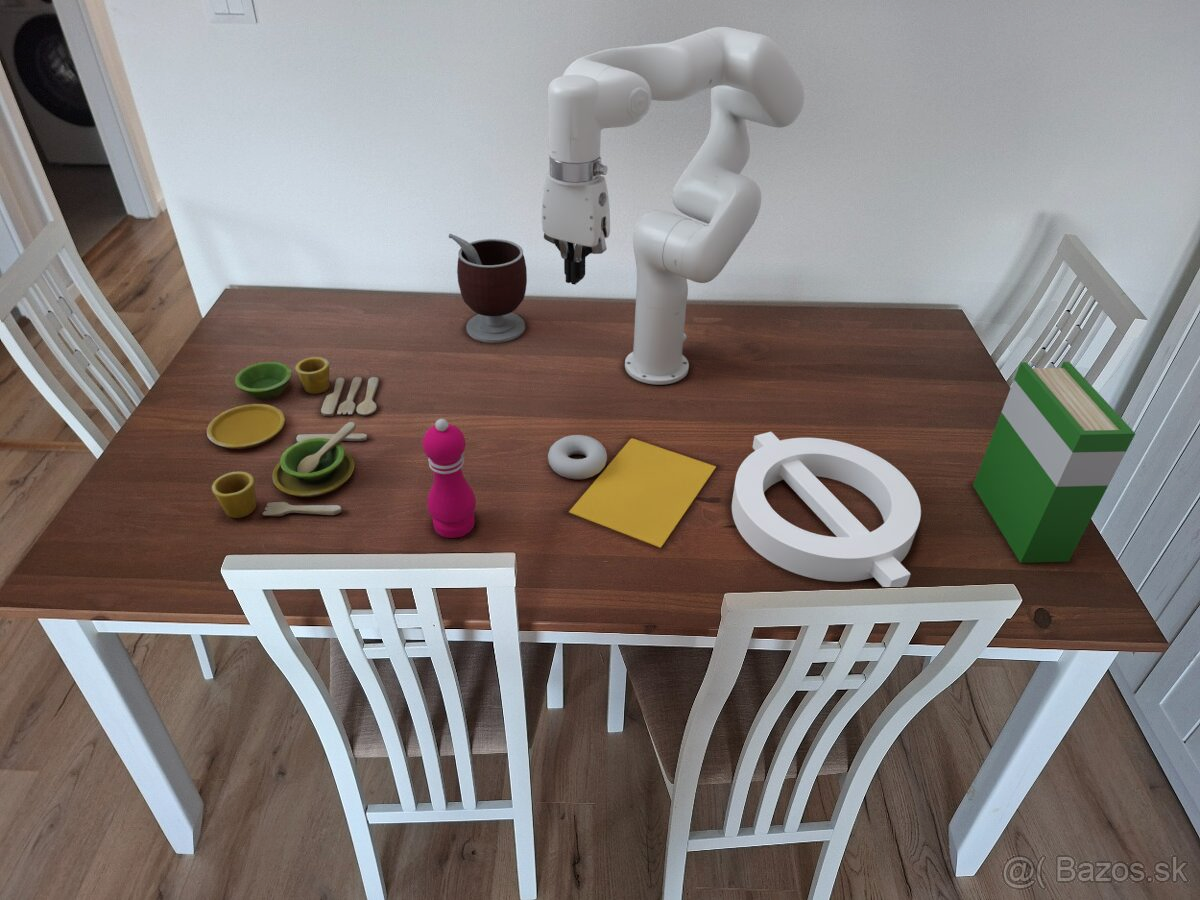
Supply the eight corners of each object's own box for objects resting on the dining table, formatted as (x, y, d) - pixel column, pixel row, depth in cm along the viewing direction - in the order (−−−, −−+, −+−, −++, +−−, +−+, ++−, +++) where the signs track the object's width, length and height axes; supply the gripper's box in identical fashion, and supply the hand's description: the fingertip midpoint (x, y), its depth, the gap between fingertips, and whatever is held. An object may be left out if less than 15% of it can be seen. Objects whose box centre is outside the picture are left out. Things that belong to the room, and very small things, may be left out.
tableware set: (342, 522, 128) (335, 491, 124) (159, 524, 127) (145, 493, 123) (387, 375, 160) (382, 347, 156) (241, 376, 159) (232, 348, 155)
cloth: (631, 438, 146) (631, 437, 146) (716, 467, 140) (716, 466, 140) (568, 512, 130) (568, 511, 130) (660, 548, 125) (660, 547, 124)
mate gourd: (536, 316, 179) (534, 228, 167) (517, 348, 169) (512, 257, 156) (468, 307, 182) (461, 220, 169) (445, 338, 171) (435, 248, 159)
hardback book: (972, 485, 137) (1020, 362, 122) (1016, 484, 138) (1069, 361, 123) (1020, 562, 124) (1081, 434, 109) (1068, 561, 124) (1135, 433, 109)
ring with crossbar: (754, 444, 145) (757, 422, 142) (920, 484, 137) (927, 462, 134) (711, 550, 124) (714, 526, 121) (903, 604, 117) (912, 580, 114)
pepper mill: (469, 544, 125) (457, 438, 112) (423, 536, 126) (406, 431, 113) (484, 512, 130) (474, 408, 118) (440, 505, 131) (425, 402, 119)
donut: (595, 490, 135) (615, 453, 143) (595, 474, 133) (615, 437, 140) (538, 476, 138) (561, 440, 145) (538, 460, 136) (560, 425, 143)
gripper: (631, 169, 123) (626, 281, 134) (544, 151, 128) (547, 261, 139) (607, 185, 117) (604, 301, 129) (518, 165, 123) (523, 278, 134)
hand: (574, 280), depth 134 cm, fingers closed
